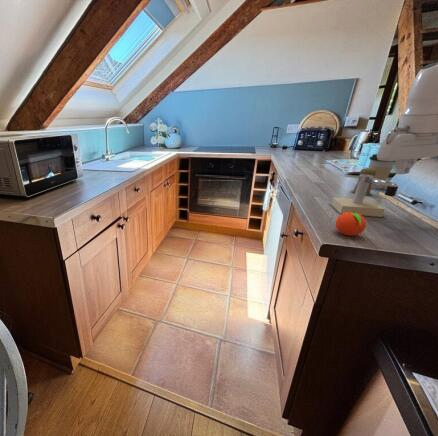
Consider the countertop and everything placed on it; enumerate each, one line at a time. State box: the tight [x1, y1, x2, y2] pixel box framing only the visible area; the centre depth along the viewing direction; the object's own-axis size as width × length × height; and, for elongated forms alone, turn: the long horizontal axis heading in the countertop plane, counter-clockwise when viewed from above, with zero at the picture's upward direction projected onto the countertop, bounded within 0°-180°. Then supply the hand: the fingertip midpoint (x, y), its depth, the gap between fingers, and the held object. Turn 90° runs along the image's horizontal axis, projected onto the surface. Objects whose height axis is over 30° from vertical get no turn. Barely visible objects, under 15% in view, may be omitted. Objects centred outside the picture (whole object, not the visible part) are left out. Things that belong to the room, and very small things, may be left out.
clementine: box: [335, 212, 367, 237], centre depth 70 cm, size 8×7×7 cm
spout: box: [357, 173, 399, 197], centre depth 80 cm, size 14×4×4 cm, turn 177°
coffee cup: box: [368, 153, 396, 190], centre depth 113 cm, size 9×9×15 cm
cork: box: [352, 167, 376, 196], centre depth 106 cm, size 6×6×11 cm
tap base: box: [330, 181, 386, 218], centre depth 87 cm, size 12×10×11 cm
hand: (401, 173), depth 75 cm, fingers closed
